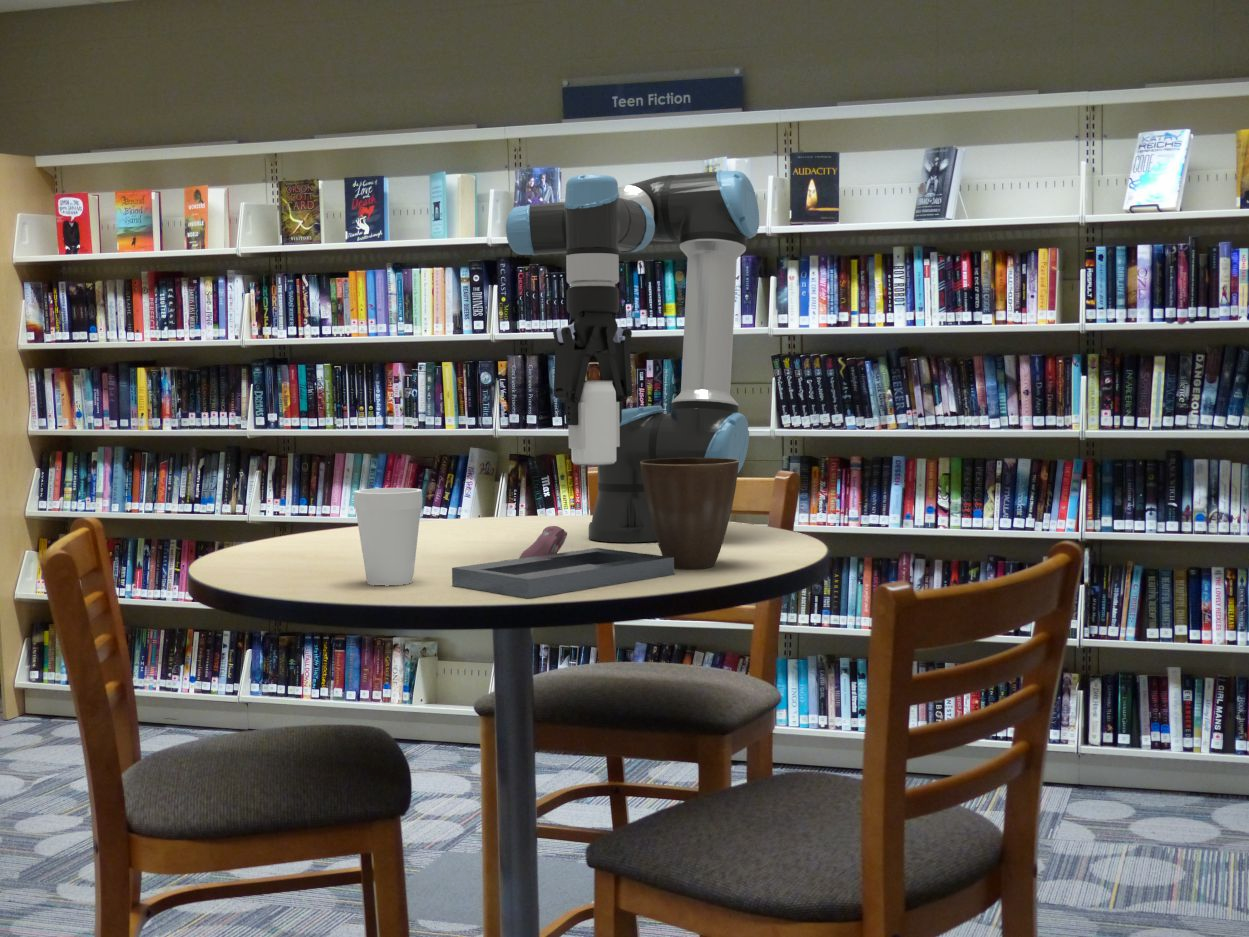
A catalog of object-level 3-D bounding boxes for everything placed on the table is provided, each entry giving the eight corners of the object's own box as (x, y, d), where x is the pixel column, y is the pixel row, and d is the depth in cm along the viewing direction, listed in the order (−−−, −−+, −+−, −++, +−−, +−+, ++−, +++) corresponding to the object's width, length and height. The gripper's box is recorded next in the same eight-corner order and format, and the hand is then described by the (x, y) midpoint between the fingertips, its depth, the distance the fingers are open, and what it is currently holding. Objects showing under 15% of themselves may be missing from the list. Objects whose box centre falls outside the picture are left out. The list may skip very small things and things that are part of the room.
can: (623, 464, 188) (622, 380, 188) (580, 466, 186) (579, 380, 185) (606, 462, 194) (606, 380, 194) (565, 463, 192) (564, 380, 191)
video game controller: (541, 577, 200) (561, 537, 199) (515, 563, 201) (534, 523, 200) (557, 568, 210) (575, 529, 209) (532, 555, 210) (550, 516, 209)
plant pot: (735, 573, 191) (734, 463, 190) (633, 572, 194) (632, 463, 193) (743, 559, 206) (742, 457, 205) (648, 558, 209) (647, 457, 207)
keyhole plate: (597, 564, 203) (596, 547, 202) (674, 574, 191) (674, 557, 191) (452, 585, 183) (451, 567, 183) (528, 598, 172) (528, 579, 171)
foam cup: (358, 589, 180) (356, 494, 180) (353, 579, 189) (350, 489, 188) (428, 585, 183) (426, 492, 182) (419, 576, 192) (417, 487, 191)
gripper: (621, 290, 198) (622, 444, 200) (524, 284, 184) (527, 449, 186) (657, 287, 193) (658, 445, 194) (561, 281, 179) (563, 451, 181)
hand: (594, 447), depth 190 cm, fingers closed on can, 6 cm apart
